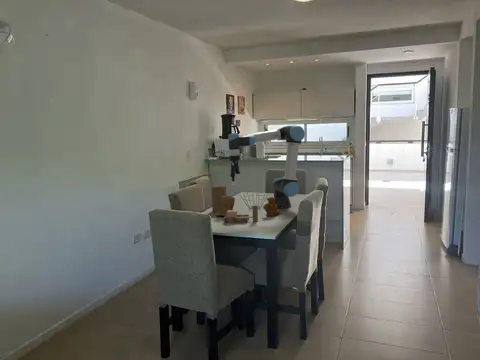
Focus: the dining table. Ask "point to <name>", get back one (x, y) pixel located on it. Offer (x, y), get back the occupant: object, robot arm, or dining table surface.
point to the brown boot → (225, 205)
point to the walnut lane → (236, 219)
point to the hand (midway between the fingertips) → (235, 184)
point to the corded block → (234, 215)
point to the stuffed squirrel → (271, 207)
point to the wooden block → (217, 196)
